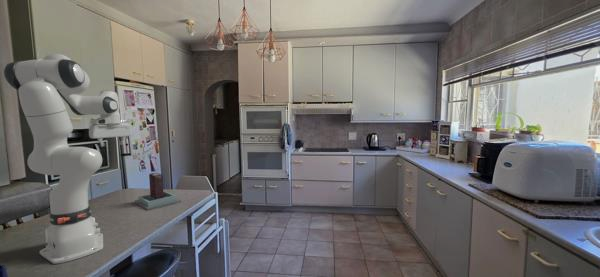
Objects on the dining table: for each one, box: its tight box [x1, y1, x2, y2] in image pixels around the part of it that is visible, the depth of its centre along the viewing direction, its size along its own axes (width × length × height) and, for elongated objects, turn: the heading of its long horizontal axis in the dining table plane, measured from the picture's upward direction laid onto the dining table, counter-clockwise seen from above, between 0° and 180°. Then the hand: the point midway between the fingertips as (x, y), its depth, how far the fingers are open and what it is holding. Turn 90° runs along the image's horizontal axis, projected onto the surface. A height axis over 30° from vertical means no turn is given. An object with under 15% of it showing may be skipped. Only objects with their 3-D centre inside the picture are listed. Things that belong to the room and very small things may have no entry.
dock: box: [133, 190, 182, 211], centre depth 153 cm, size 22×18×4 cm
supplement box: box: [148, 172, 164, 200], centre depth 152 cm, size 9×5×16 cm, turn 48°
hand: (112, 145), depth 143 cm, fingers open, 8 cm apart
